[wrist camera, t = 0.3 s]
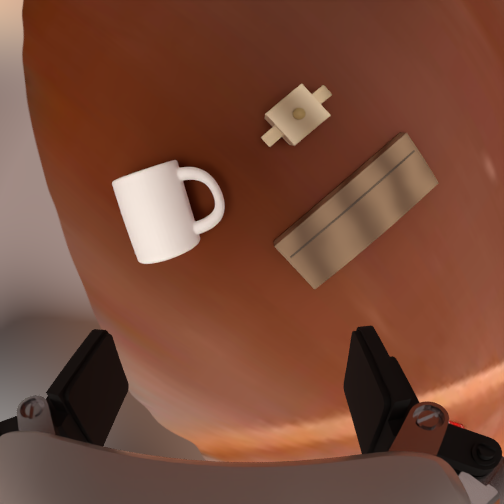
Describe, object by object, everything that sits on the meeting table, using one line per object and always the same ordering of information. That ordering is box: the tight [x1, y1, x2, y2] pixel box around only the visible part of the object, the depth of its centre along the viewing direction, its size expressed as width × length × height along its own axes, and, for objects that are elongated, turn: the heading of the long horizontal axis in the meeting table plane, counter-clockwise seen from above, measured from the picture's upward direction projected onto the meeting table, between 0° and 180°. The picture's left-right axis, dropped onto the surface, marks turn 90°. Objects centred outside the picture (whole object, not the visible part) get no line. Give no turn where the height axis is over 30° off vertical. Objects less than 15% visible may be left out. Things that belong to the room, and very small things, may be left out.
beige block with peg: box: [261, 84, 332, 147], centre depth 31 cm, size 9×4×7 cm, turn 133°
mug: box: [112, 160, 225, 264], centre depth 35 cm, size 12×10×8 cm
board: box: [274, 133, 438, 289], centre depth 37 cm, size 22×8×2 cm, turn 133°
